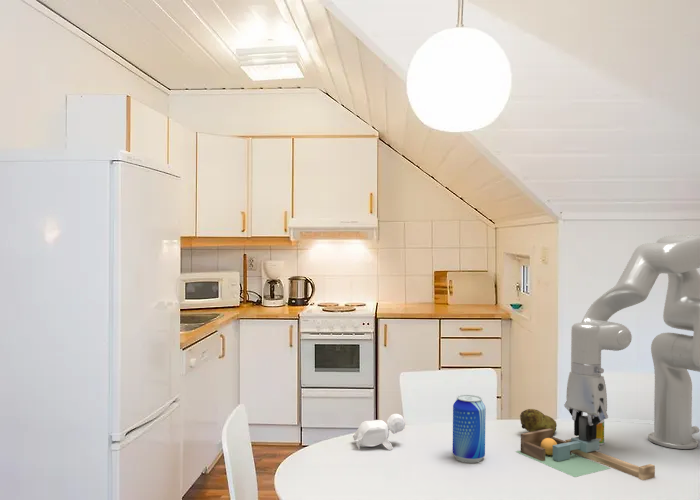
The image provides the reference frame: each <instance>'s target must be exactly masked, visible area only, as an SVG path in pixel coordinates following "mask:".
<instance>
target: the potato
mask: <svg viewBox="0 0 700 500" xmlns="http://www.w3.org/2000/svg"><path fill="white" fill-rule="evenodd" d="M519 417H520V424H521V429H524V430H526V431H527V432H533V431H539V430H544V429H549V428H550V429H553V435H554V433H556V430H557V426H558V425H557V421H556V420H555V419H554V418H553V417H551V416H548V415H546V414H544V413H543V412H542V411H540V410H538V409H534V408H528V409H527V408H526V409H524V410H523V411H521V413H520V415H519Z"/></svg>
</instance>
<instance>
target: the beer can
mask: <svg viewBox="0 0 700 500" xmlns="http://www.w3.org/2000/svg"><path fill="white" fill-rule="evenodd" d="M486 412H487V411H486V405H485V403H484V402H483V398H482V397H481V396H480V395H475V394H460V395H457V396H456V400H455V401H454V403H453V405H452V455H453V456H454V457H455V460H457V461H458V462H461V463H465V464H466V463H467V464H476V463H479V462H482V461H483V458H484V457H485V456H486Z"/></svg>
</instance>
